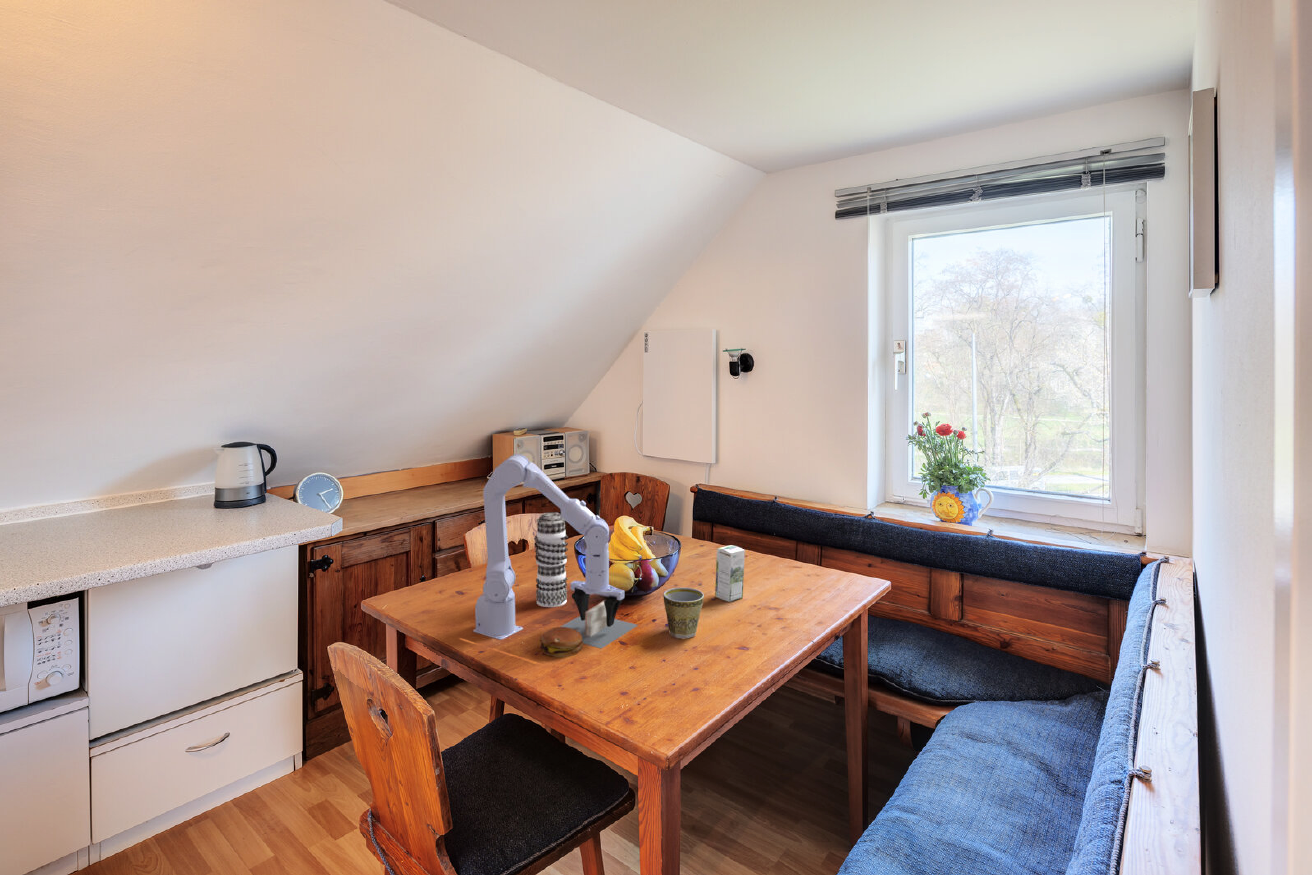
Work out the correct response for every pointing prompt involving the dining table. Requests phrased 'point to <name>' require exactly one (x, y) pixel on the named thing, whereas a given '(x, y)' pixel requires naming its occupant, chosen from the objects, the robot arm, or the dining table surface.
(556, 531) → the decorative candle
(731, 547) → the syrup box
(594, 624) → the tile
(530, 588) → the dining table surface
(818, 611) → the dining table surface
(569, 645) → the burger
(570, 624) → the mat
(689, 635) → the ceramic cup
